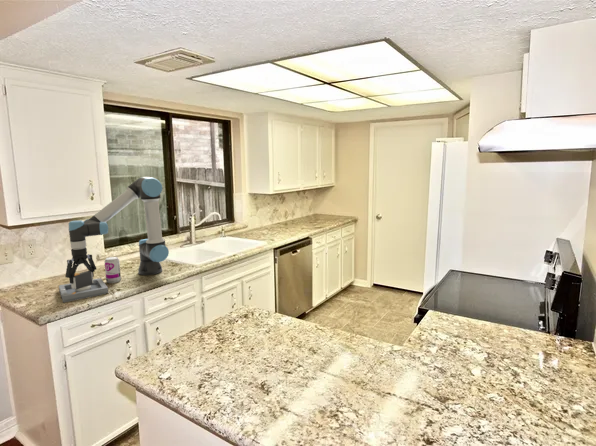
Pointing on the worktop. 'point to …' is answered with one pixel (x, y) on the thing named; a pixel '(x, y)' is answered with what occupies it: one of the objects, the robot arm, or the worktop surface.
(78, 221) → the robot arm
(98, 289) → the dial panel
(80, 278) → the dial
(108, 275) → the supplement can
